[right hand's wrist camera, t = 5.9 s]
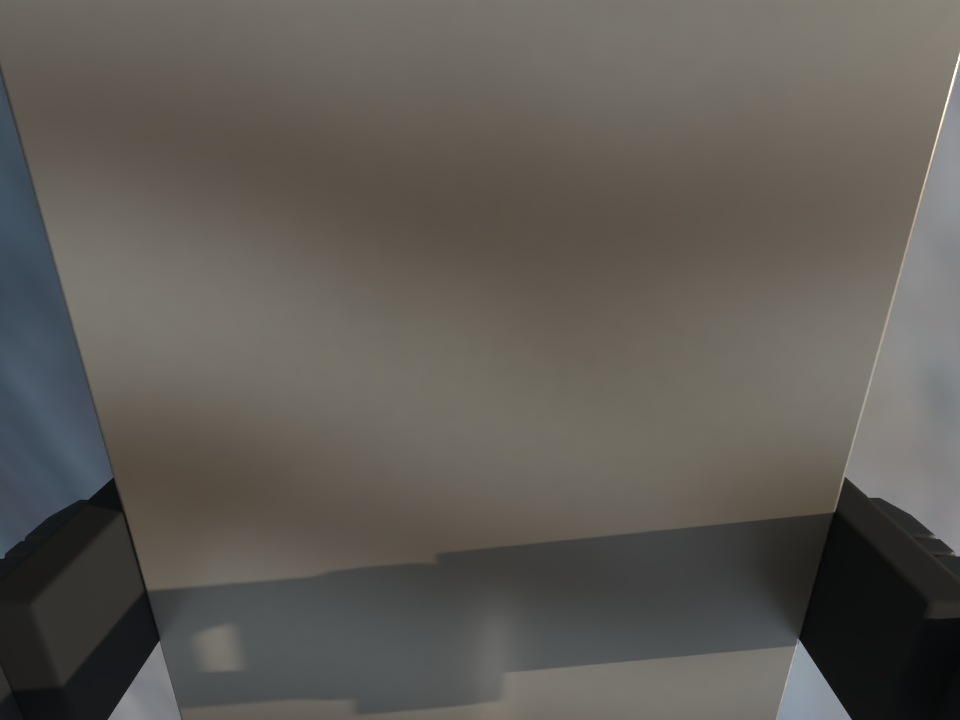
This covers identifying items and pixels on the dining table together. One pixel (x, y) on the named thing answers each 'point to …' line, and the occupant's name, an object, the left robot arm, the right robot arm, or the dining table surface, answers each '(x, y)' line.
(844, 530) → the right robot arm
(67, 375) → the dining table surface
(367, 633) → the cabinet
